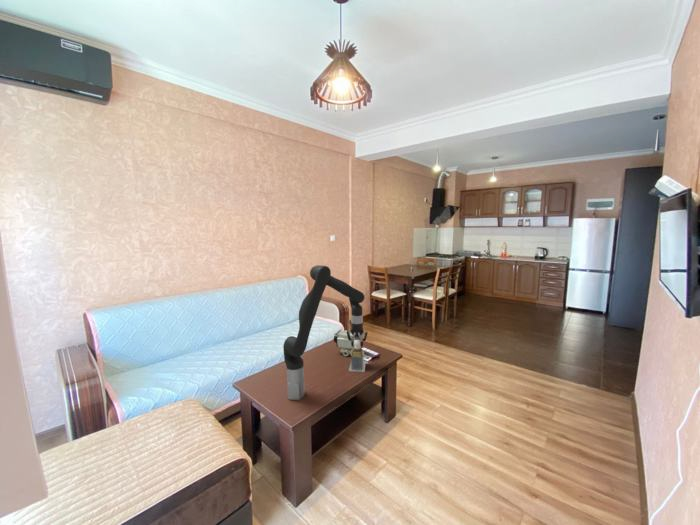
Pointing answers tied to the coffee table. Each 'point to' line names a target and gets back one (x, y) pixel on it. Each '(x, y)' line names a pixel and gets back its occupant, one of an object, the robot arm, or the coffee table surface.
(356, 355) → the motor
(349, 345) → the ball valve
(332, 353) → the coffee table surface
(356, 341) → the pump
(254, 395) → the coffee table surface
